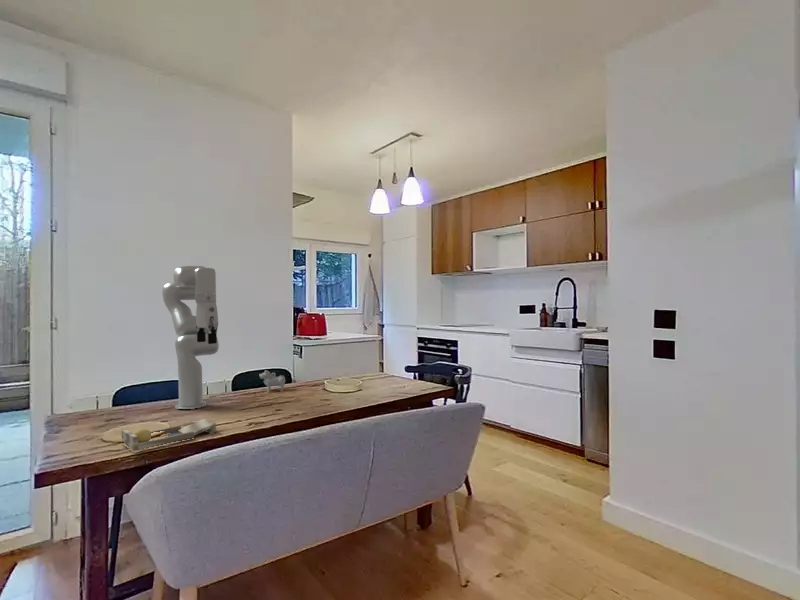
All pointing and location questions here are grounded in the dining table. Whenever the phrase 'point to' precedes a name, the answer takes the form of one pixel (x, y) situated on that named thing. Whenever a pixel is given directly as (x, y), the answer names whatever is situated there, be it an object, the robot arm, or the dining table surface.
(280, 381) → the grey dog figurine
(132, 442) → the grey tray
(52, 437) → the dining table surface
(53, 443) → the dining table surface
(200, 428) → the ramp
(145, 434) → the ball
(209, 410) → the dining table surface
